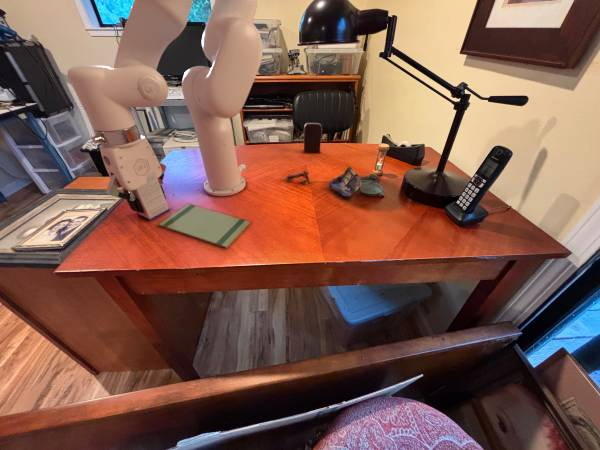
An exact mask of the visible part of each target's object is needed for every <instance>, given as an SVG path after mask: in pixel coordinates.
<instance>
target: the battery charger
mask: <svg viewBox="0 0 600 450" xmlns="http://www.w3.org/2000/svg"><path fill="white" fill-rule="evenodd" d="M322 135H323V126H322V124H321V123H320V122H315V121H308V122H306V123H305V124H304V126H303V152H304V153H306V154H320V153H321V145H322Z"/></svg>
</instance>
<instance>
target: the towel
mask: <svg viewBox="0 0 600 450" xmlns="http://www.w3.org/2000/svg"><path fill="white" fill-rule="evenodd" d="M250 224H251V221H249V220H246V219H243V218H238V217H235V216H232V215H229V214H225V213H222V212H218V211H214V210H211V209H207V208H204V207H201V206H197V205H195V204H190V203H186V204H185V205H184V206H182V207H181V208H179V209H178V210H176V211H175V212H174V213H172V214H171V215H170V216H168V217H166V218H165V219H164V220H163V221H161V222H160V223H158V226H159V227H161V228H164V229H167V230H171V231H173V232H176V233H178V234H179V233H180V234H181V235H185V236H188V237H190V238H194V239H197V240H200V241H203V242H205V243H209V244H212V245H215V246H218V247H221V248H224V249H228V248H229V247H230V245H231V244H232V243H233V242H234V241H235V240H236V239H237V238H238V237H239V236H240V235H241V234H242V233H243V232H244V230H245V229H247V227H248V226H249V225H250Z"/></svg>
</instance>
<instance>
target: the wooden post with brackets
mask: <svg viewBox="0 0 600 450" xmlns="http://www.w3.org/2000/svg"><path fill="white" fill-rule="evenodd" d="M309 174H310V172H309V171H307V170H303V172H299V173H296V174H292V175H291V174H290V173H289V174H287V175H286V176H285V178H286V180H287V182H290V181H291V180H293V179H298V178H301V177H303V178H304V179H302V180H300V181H299V184H301V185H302V184H306V183H307V184H308V185H311V179H310V177H309V176H308V175H309Z"/></svg>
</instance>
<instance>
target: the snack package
mask: <svg viewBox="0 0 600 450" xmlns="http://www.w3.org/2000/svg"><path fill="white" fill-rule="evenodd" d="M361 181H362V178H361V177H360V176H359V174H358V173H356V172H354V170H353V168H352V167H351V166H348V167H347V168H346V169H345V171H344V172H343V173H342V174H340V175H338V176H337V177H335V178H333V179H332V180H331V181H329V182H328V188H329V189H333V190H335V191H336V193H337V194H338V195H339V196H341V197H343V198H346V199H349V200H350V199H352V197H353V195H354V194H355V192H357V191H358V190H360V189H359V187H360V186H361V187H362V184H363V181H362V182H361Z"/></svg>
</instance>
